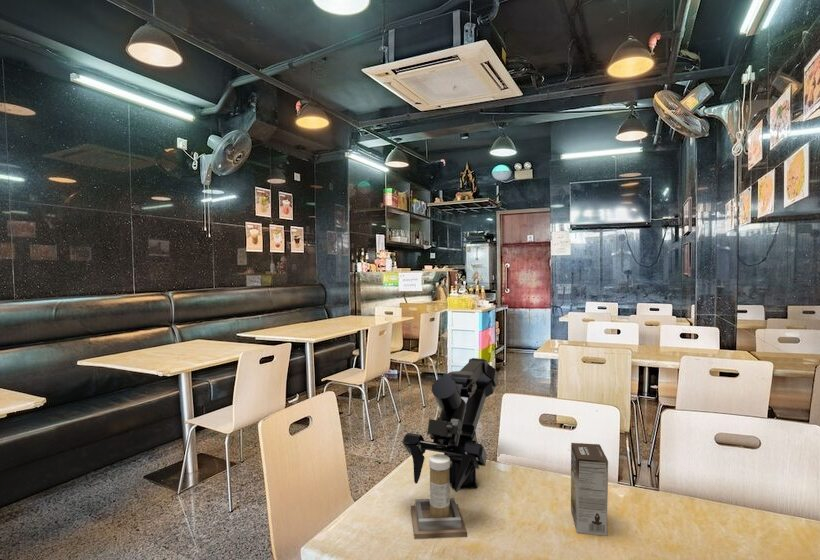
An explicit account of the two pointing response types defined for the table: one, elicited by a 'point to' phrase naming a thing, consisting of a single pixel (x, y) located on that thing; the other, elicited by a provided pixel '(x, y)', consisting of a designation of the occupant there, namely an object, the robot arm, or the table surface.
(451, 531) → the socket board
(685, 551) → the table surface
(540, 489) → the table surface
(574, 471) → the coffee box
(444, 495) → the sprinkles bottle
